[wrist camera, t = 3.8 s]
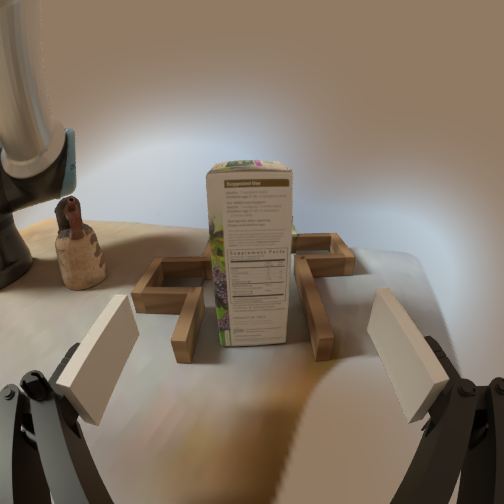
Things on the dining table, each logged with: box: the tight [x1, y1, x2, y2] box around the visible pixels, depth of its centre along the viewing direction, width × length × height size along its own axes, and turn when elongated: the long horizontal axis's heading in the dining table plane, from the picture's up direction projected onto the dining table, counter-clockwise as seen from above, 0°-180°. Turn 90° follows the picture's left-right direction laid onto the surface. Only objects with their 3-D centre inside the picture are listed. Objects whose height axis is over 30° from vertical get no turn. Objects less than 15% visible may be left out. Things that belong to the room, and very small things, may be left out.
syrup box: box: [206, 160, 293, 346], centre depth 22 cm, size 6×6×14 cm
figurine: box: [55, 196, 108, 290], centre depth 32 cm, size 7×7×12 cm
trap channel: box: [131, 216, 355, 363], centre depth 32 cm, size 27×25×4 cm
